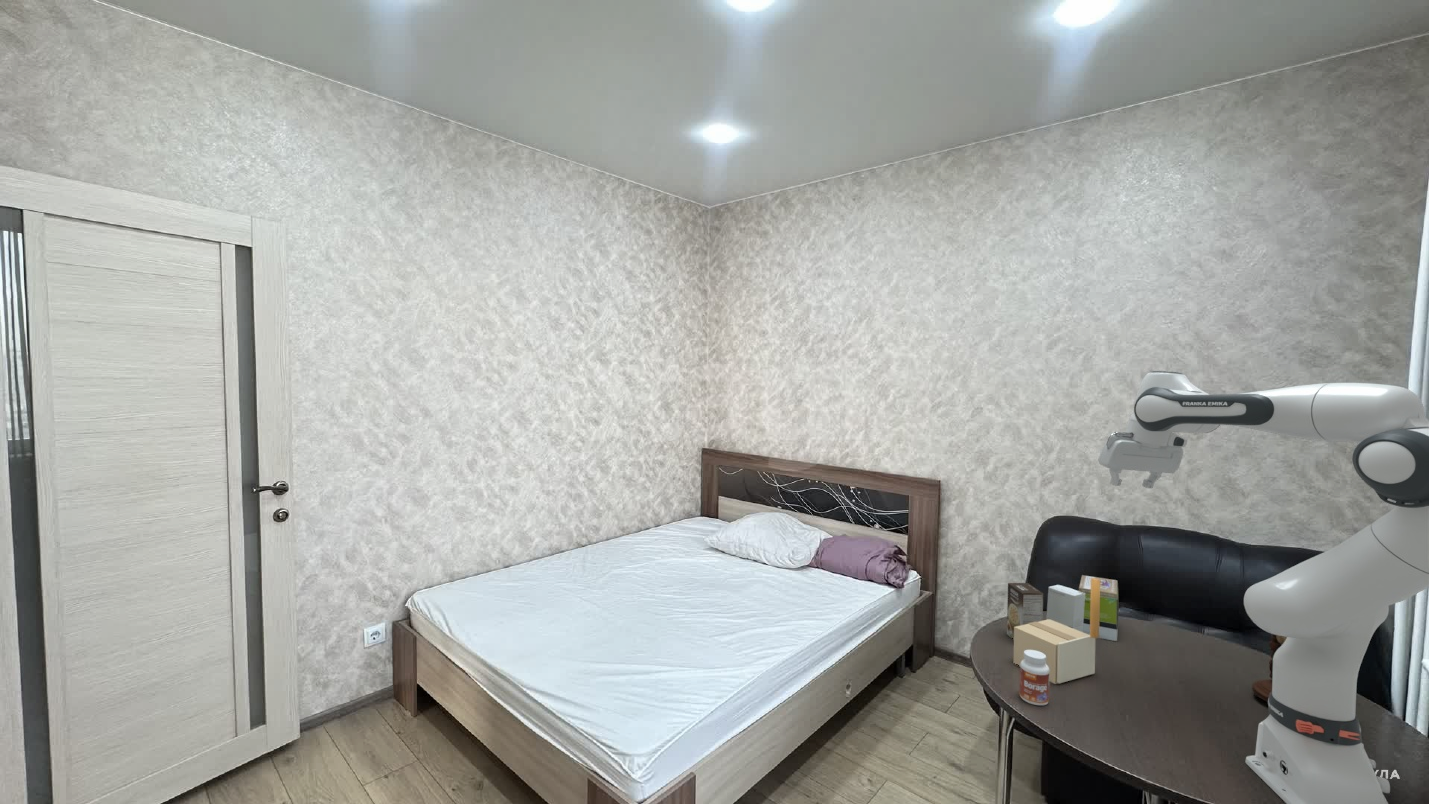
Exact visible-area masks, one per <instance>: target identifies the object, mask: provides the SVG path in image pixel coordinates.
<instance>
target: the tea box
mask: <svg viewBox="0 0 1429 804" xmlns="http://www.w3.org/2000/svg"><path fill="white" fill-rule="evenodd" d="M1091 578H1097V579H1100V615H1099V638H1098V639H1101V640H1102V639H1103V640H1107V641H1114V642H1118V633H1119V631H1118V630H1119V583H1118V580H1116V579H1112V578H1111V579H1109V578H1104V577H1097V576H1089V575H1083V574H1082V575H1081V578H1080V581H1079V582H1080V583H1079V586H1078V591H1080V592H1083V593H1085V606H1084V621H1083V633H1086V634H1088V635H1090V601H1091Z"/></svg>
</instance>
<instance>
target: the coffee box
mask: <svg viewBox="0 0 1429 804" xmlns="http://www.w3.org/2000/svg"><path fill="white" fill-rule="evenodd" d="M1006 610H1007V612H1006V613H1007V615H1006V616H1007V618H1006V619H1007V621H1006V635H1007V636H1008V637H1009V638H1011V639H1012V638H1013V639H1012V640H1013V641H1014V627H1016V626H1021V625H1025V624H1028V623H1031V622H1039V621H1043V620H1044V618H1043V615H1044V614H1043V613H1044V611H1043V610H1044V593H1043V592H1042V591H1040V590H1039V589H1037V588H1036V587H1035V586H1033V585H1031V584H1030V583H1029V582H1008V583H1007V609H1006Z"/></svg>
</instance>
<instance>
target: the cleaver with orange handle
mask: <svg viewBox="0 0 1429 804" xmlns="http://www.w3.org/2000/svg"><path fill="white" fill-rule="evenodd" d="M1099 615H1100V579H1097V578H1091V601H1090V635H1089V636H1085V637H1081V638H1077V639H1073V640H1069V641H1065V642H1061V643H1058V649H1057V684H1062V683H1065V682H1068V681H1070V682H1071V681H1073V680H1076V679H1080V678H1083V677H1087V676H1090V675H1091V676H1092V675H1094V674H1095V673H1096V639H1100V638H1099Z"/></svg>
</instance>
